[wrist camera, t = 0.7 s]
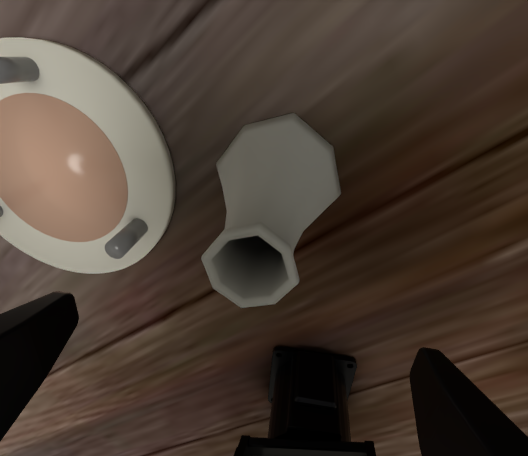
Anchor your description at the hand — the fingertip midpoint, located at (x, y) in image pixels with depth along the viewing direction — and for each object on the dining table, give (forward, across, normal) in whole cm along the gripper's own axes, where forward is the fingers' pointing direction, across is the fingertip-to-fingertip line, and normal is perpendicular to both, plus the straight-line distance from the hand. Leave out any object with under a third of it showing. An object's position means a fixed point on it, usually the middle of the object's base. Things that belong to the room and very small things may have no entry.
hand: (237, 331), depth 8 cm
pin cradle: (+13, +14, +1) cm, 19 cm away
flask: (+13, 0, 0) cm, 13 cm away
